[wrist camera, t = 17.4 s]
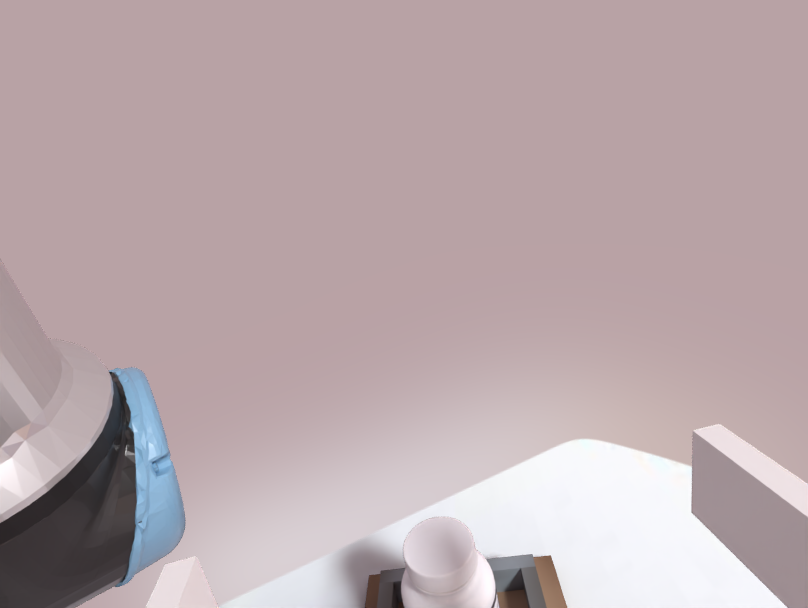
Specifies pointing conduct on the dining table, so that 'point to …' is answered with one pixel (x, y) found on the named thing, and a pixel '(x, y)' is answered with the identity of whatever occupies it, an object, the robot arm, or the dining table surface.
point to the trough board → (514, 578)
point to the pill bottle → (445, 568)
